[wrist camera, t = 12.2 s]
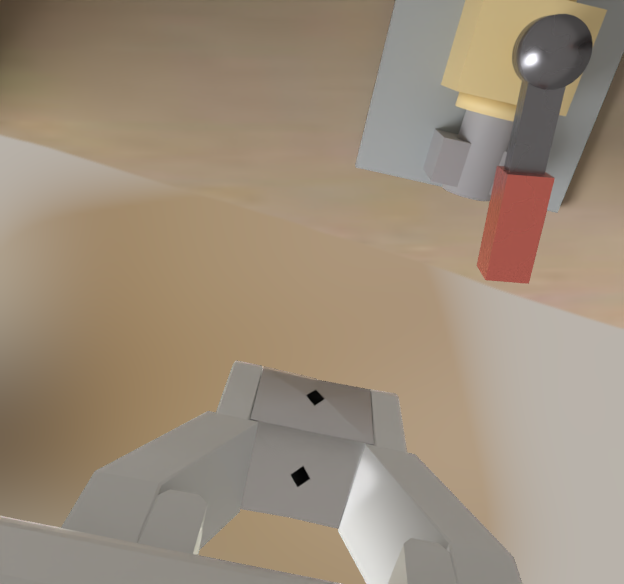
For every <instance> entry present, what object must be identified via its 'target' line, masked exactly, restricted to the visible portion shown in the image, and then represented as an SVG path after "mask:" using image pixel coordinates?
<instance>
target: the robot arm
mask: <svg viewBox="0 0 624 584" xmlns="http://www.w3.org/2000/svg"><path fill="white" fill-rule="evenodd" d="M262 369H263V371H262ZM240 509H244V510H250V511H256V512H262V513H267V514H273V515H279V516H284V517H290V518H294V519H298V520H303V521H307V522H312V523H316V524H320V525H324V526H329V527H333V528H337V529H339V530H338V532H339V534H340V535H341V537H342V539H343V541H344V543H345V545H346V547H347V548H348V550H349V552H350V554H351V556H352V558H353V560H354V561H355V563H356V565H357V567H358V569H359V571H360V573H361V574H362V576H363V578H364V580H365V582H366V584H522V581H521V578H520V575H519V572H518V569H517V566H516V562H515V559H514V557H513V556H512V555H511V554H510V553H509V552H508V551H507V550H506V549H505V547H504V546H503V545H502V544H501V543H500V542H499V541H498V540H497V539H496V538H495V537H494V536H493V535H492V534H491V533H490V532H489V531H488V530H487V529H486V528H485V527H484V526H483V525H482V524H481V523H480V521H479V520H478V519H477V518H476V517H475V516H474V515H473V514H472V513H471V512H470V511H469V510H468V509H467V508H466V507H465V506H464V505H463V504H462V503H461V502H460V501H459V500H458V499H457V497H456V496H455V495H454V494H453V493H452V492H451V491H450V490H449V489H448V488H447V487H446V486H445V485H444V484H443V483H442V482H441V481H440V480H439V479H438V478H437V477H436V476H435V475H434V473H433V472H432V471H431V470H430V469H429V468H428V467H427V466H426V465H425V464H424V463H423V462H422V461H421V460H420V459H419V458H418V457H417V456H416V455H415V454H412V453H407V448H406V442H405V436H404V430H403V423H402V416H401V410H400V404H399V398H398V396H397V395H396V394H394V393H389V392H382V391H377V390H371V389H365V388H359V387H353V386H348V385H343V384H337V383H332V382H326V381H322V380H317V379H316V378H311V377H307V376H303V375H298V374H294V373H290V372H285V371H281V370H277V369H272V368H268V367H263V368H262V366H261V365H255V364H251V363H245V362H241V361H235V363H234V364H233V366H232V369H231V372H230V375H229V377H228V380H227V383H226V386H225V389H224V391H223V394H222V397H221V400H220V403H219V406H218V408H217V411H216V413H215V412H210V411H207V412H205V413H203V414H202V415H200V416H198V417H196V418H194V419H192V420H190V421H188V422H187V423H185V424H183V425H181V426H179V427H177V428H175V429H173V430H172V431H170V432H168V433H166V434H164V435H162V436H160V437H158V438H157V439H155V440H153V441H151V442H149V443H147V444H145V445H143V446H141V447H140V448H138V449H136V450H134V451H132V452H130V453H128V454H126V455H125V456H123V457H121V458H119V459H117V460H115V461H113V462H111V463H109V464H108V465H106V466H104V467H102V468H100V469H98V470H96V471H95V472H94V474H93V475H92V477H91V479H90V480H89V482H88V484H87V485H86V487H85V488H84V490H83V492H82V493H81V495H80V497H79V499H78V500H77V502H76V503H75V505H74V507H73V509H72V510H71V512H70V513H69V515H68V517H67V518H66V520H65V522H64V524H63V525H62V527H61V528H59V527H54V526H49V525H44V524H39V523H34V522H29V521H24V520H19V519H14V518H9V517H4V516H0V584H341V583H336V582H331V581H326V580H321V579H315V578H311V577H305V576H300V575H295V574H290V573H285V572H280V571H275V570H270V569H264V568H260V567H255V566H249V565H245V564H239V563H235V562H229V561H225V560H220V559H215V558H210V557H204V556H199V555H198V553H199V550H200V549H201V548H202V547H203V546H204V545H205V544H206V543H207V542H208V541H209V540H210V539H211V538H212V537H214V535H216V534H217V533H218V532H219V531H220V530H221V529H222V528H223V527H224V526H225V525H226V524H227V523H228V522H229V521H230V520H231V519H233V518H234V517H235V516H236V515H237V514H238V513H239V511H240Z"/></svg>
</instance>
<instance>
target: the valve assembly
mask: <svg viewBox="0 0 624 584" xmlns="http://www.w3.org/2000/svg"><path fill="white" fill-rule="evenodd" d="M556 14H570V15H573V16H576V17H578V18H579V19H581V20H582V21H583V22H584V23H585V24H586V25H587V27H588V29H589V30H590V33H591V36H592V42H593V48H592V55H591V58H590V61H589V63H588V65H587V67H586V69H585V70H584V72H583V73H582V74H581V75H580V76H579V77H578V78H577V79H576V80H575V81H574V82H572V83H571V84H569V85H567V86H566V88H565V92H564V96H563V100H562V104H561V109H560V113H559V117H558V121H557V125H556V129H555V134H554V138H553V142H552V146H551V150H550V154H549V159H548V163H547V167H546V171H545V172H546V173H548V174H549V175H551V176H553V177H554V178H555V180H554V184H553V188H552V192H551V196H550V200H549V204H548V208H547V211H552V212H556V213H558V210H559V208H560V205H561V203H562V200H563V198H564V196H565V193H566V191H567V188H568V186H569V183H570V181H571V179H572V176H573V174H574V171H575V169H576V167H577V164H578V162H579V159H580V157H581V154H582V152H583V150H584V147H585V145H586V142H587V140H588V137H589V135H590V133H591V130H592V128H593V125H594V123H595V120H596V118H597V116H598V113H599V111H600V108H601V106H602V104H603V101H604V99H605V96H606V94H607V91H608V89H609V87H610V84H611V82H612V79H613V77H614V74H615V72H616V70H617V67H618V65H619V62H620V60H621V57H622V55H623V53H624V0H395V4H394V8H393V12H392V17H391V21H390V25H389V29H388V33H387V37H386V41H385V45H384V49H383V53H382V58H381V62H380V66H379V70H378V74H377V78H376V82H375V86H374V90H373V94H372V99H371V103H370V107H369V111H368V115H367V119H366V123H365V127H364V131H363V135H362V140H361V144H360V148H359V152H358V156H357V160H356V167H357V168H361V169H366V170H370V171H375V172H379V173H383V174H388V175H392V176H397V177H401V178H406V179H410V180H414V181H419V182H423V183H428V184H432V185H437V186H441V187H443V188H444V189H445V190H447V191H449V192H451V193H453V194H456V195H459V196H462V197H465V198H469V199H474V200H479V201H490V198H491V193H492V188H493V183H494V178H495V173H496V168H497V166H504V164H505V159H506V155H507V150H508V145H509V140H510V135H511V131H512V126H513V121H514V116H515V111H516V107H517V102H518V97H519V92H520V87H521V83H522V80H520V78H519V77H518V76H517V74H516V73H515V70H514V68H513V64H512V51H513V47H514V44H515V41H516V39H517V37H518V36H519V34H520V33H521V31H522V30H523V29H524V28H525V27H526V26H527V25H528V24H529V23H531V22H532V21H534V20H536V19H538V18H540V17H544V16H549V15H556Z"/></svg>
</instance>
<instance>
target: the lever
mask: <svg viewBox="0 0 624 584" xmlns="http://www.w3.org/2000/svg"><path fill="white" fill-rule="evenodd" d="M592 48H593V42H592V36H591V33H590V30H589V29H588V27H587V25H586V24H585V23H584V22H583V21H582V20H581V19H579V18H578V17H576V16H573V15H570V14H556V15H549V16H544V17H540V18H538V19H536V20H534V21H532V22H531V23H529V24H528V25H527V26H526V27H525V28H524V29H523V30H522V31H521V33H520V34H519V36H518V37H517V39H516V41H515V44H514V47H513V51H512V64H513V68H514V70H515V73H516V74H517V76H518V77H519V78H520V80H522V83H521V87H520V92H519V97H518V102H517V107H516V111H515V116H514V121H513V126H512V131H511V135H510V140H509V145H508V150H507V155H506V159H505V164H504V166H497V168H496V173H495V178H494V183H493V188H492V193H491V198H490V203H489V208H488V213H487V218H486V223H485V228H484V232H483V237H482V242H481V247H480V252H479V257H478V262H477V267H478V268H479V270H480V272H481V273H482V275H483V277H484V278H485V280H492V281H504V282H516V283H529V280H530V276H531V272H532V268H533V264H534V260H535V256H536V252H537V248H538V244H539V240H540V236H541V232H542V228H543V224H544V220H545V216H546V212H547V208H548V204H549V200H550V196H551V192H552V188H553V184H554V180H555V178H554V177H553V176H551V175H549V174H548V173H546V172H545V171H546V167H547V163H548V159H549V154H550V150H551V146H552V142H553V138H554V134H555V129H556V125H557V121H558V117H559V113H560V109H561V104H562V100H563V96H564V92H565V88H566V86H567V85H569V84H571V83H572V82H574V81H575V80H576V79H577V78H578V77H579V76H580V75H581V74H582V73H583V72H584V70H585V69H586V67H587V65H588V63H589V61H590V58H591V55H592Z"/></svg>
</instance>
